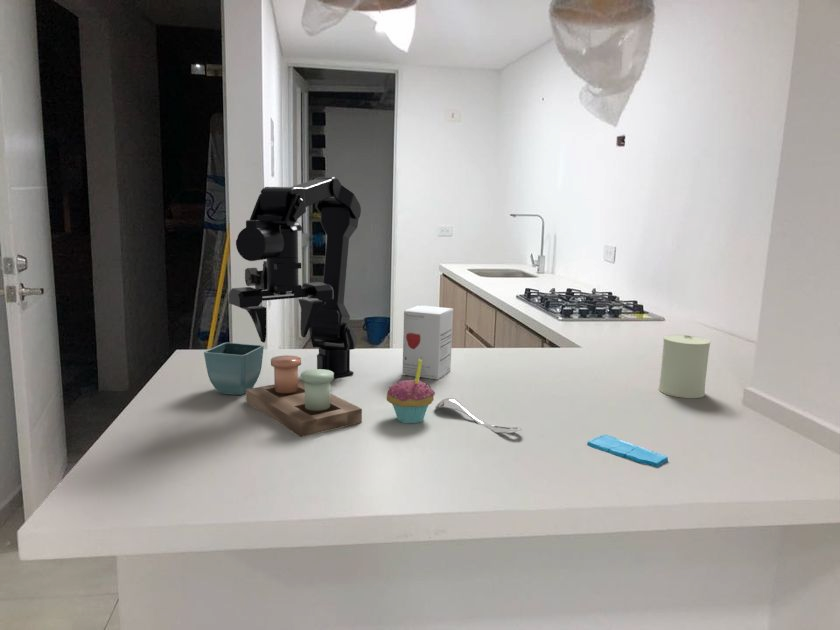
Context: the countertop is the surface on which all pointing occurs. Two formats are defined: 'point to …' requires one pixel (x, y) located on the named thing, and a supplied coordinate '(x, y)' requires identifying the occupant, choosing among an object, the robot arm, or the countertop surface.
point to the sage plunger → (317, 388)
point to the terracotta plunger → (286, 373)
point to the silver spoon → (457, 405)
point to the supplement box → (427, 341)
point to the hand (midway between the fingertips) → (283, 339)
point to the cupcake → (410, 398)
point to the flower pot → (234, 367)
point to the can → (684, 366)
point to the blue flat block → (627, 450)
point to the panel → (302, 410)
